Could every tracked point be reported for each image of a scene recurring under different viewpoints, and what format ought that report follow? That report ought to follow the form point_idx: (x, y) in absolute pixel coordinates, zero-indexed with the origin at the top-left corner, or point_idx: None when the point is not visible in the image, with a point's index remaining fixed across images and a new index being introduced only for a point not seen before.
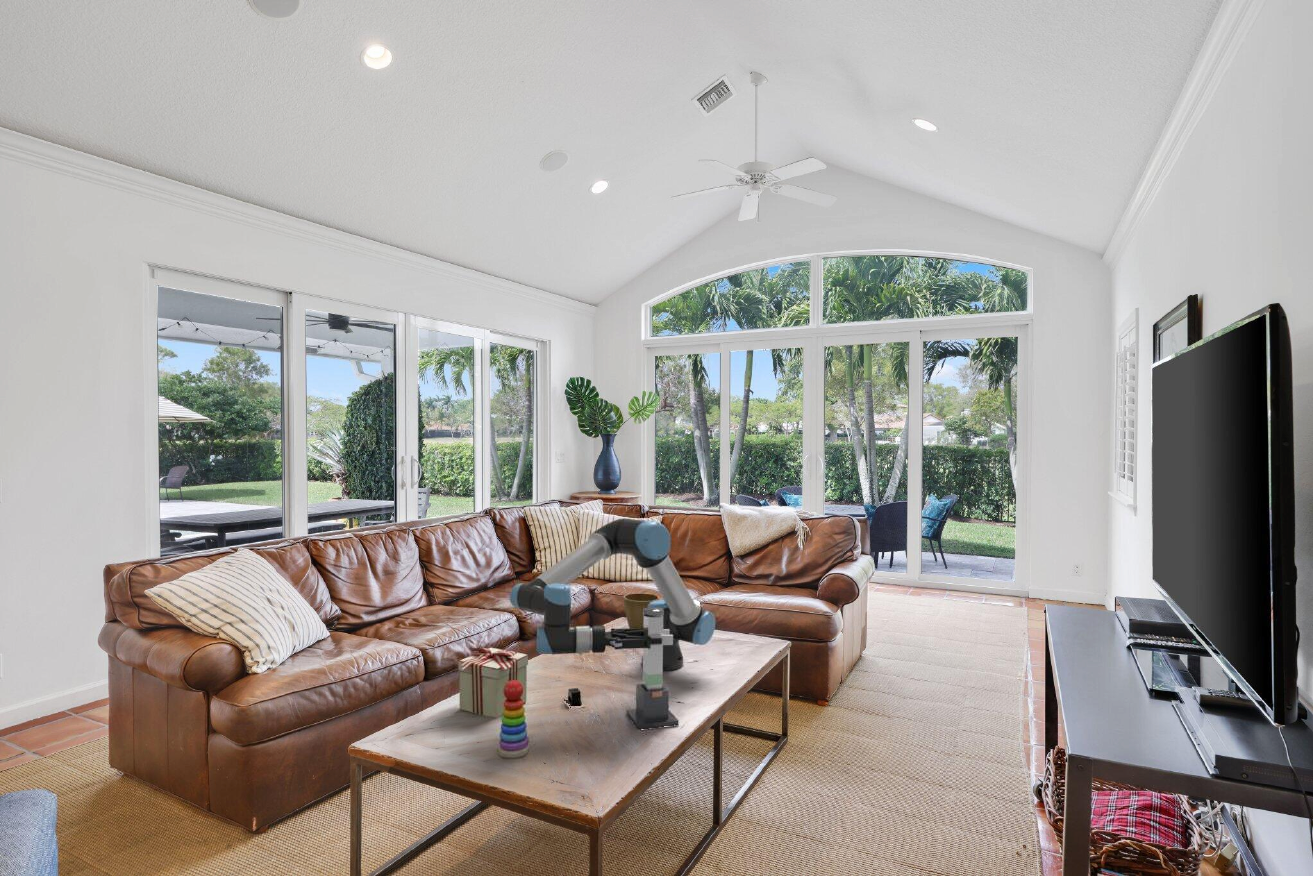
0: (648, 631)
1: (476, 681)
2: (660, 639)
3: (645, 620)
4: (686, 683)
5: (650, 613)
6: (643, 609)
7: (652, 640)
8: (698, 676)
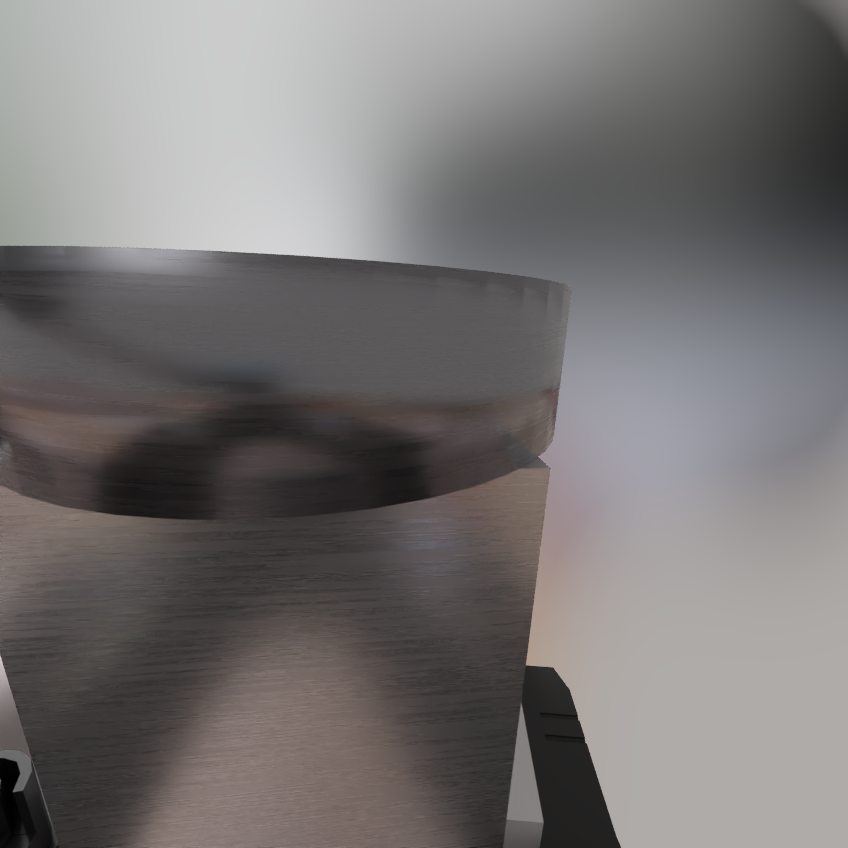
0: (504, 803)
1: None
2: (565, 690)
3: (224, 643)
4: (7, 738)
5: (557, 334)
6: (39, 246)
7: (611, 843)
8: (2, 669)
